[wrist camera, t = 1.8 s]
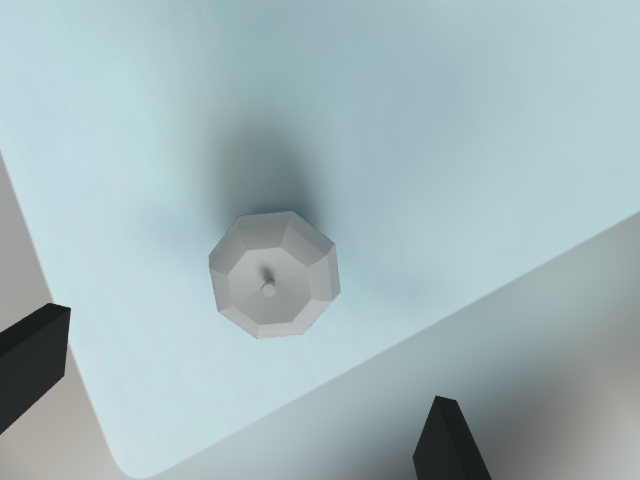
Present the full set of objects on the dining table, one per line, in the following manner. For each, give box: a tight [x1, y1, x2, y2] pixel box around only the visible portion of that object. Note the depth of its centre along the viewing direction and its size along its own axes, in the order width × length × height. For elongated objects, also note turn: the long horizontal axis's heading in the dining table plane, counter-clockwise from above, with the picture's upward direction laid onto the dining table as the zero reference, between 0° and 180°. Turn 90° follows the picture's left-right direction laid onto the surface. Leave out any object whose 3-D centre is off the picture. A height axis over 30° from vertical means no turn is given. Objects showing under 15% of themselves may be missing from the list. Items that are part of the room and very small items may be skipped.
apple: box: [209, 211, 340, 339], centre depth 25 cm, size 8×8×7 cm
